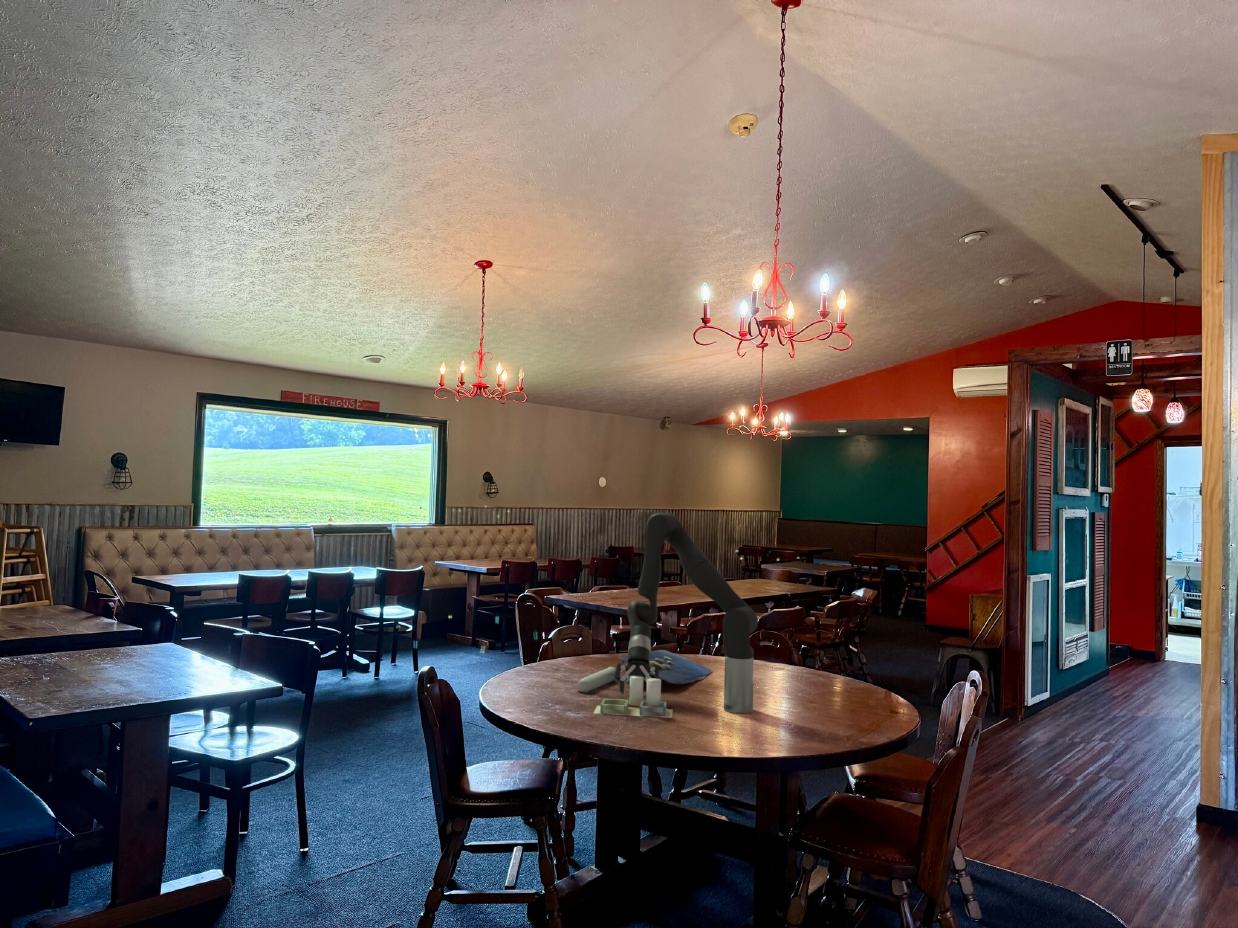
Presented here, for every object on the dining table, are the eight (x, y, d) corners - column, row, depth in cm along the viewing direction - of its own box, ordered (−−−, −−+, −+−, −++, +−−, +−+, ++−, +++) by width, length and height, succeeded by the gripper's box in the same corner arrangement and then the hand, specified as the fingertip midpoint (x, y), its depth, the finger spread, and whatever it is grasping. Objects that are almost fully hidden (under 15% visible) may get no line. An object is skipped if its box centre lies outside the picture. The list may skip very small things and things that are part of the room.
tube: (590, 683, 279) (620, 670, 301) (577, 676, 281) (608, 664, 304) (585, 697, 279) (616, 683, 302) (572, 690, 282) (604, 677, 304)
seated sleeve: (660, 710, 253) (661, 678, 253) (660, 714, 248) (661, 681, 249) (645, 710, 253) (647, 677, 254) (645, 713, 248) (646, 680, 249)
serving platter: (649, 668, 336) (658, 642, 336) (709, 695, 325) (718, 668, 325) (603, 681, 296) (613, 651, 296) (669, 712, 284) (680, 681, 284)
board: (672, 714, 255) (672, 701, 255) (671, 722, 245) (672, 709, 245) (597, 710, 257) (597, 697, 257) (593, 718, 247) (593, 704, 247)
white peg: (643, 707, 263) (644, 675, 264) (642, 710, 258) (643, 678, 259) (629, 706, 263) (630, 675, 264) (628, 709, 259) (629, 678, 259)
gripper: (617, 643, 270) (613, 686, 258) (660, 646, 269) (657, 688, 257) (618, 657, 275) (614, 699, 263) (660, 659, 274) (657, 701, 262)
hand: (635, 693), depth 260 cm, fingers open, 8 cm apart
